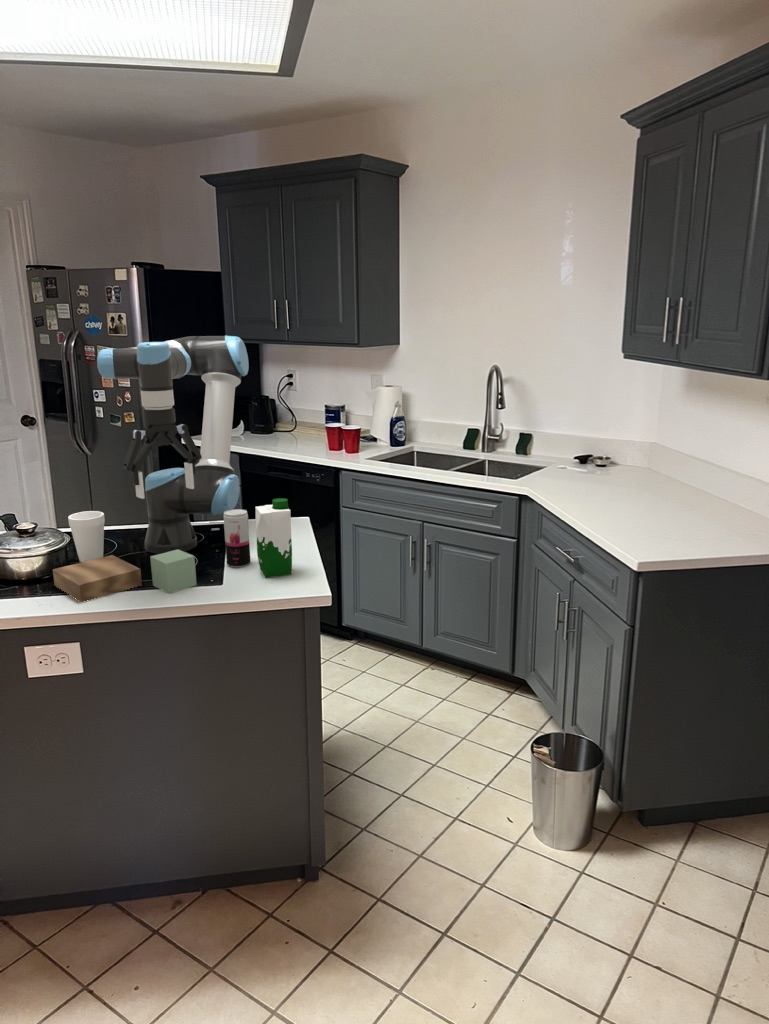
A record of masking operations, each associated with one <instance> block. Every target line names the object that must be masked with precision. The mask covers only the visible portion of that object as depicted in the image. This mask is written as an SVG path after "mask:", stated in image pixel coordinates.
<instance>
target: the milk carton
mask: <svg viewBox="0 0 769 1024" xmlns="http://www.w3.org/2000/svg"><path fill="white" fill-rule="evenodd" d="M271 502H272V504H264V505H259V506H255V507H254V508H255V536H256V551H257V552H256V554H257V560H258V565H259V570H260V572H261V573H262V575H263V576H264V578H265V579H268V578H276V577H277V578H278V577H283V576H285V577H286V576H291V575H293V546H292V545H293V543H292V521H291V519H292V517H291V513H292V512H291V509H290V507H289V500H288V498H284V497H277V498H273V499H272V501H271Z"/></svg>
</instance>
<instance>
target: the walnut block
mask: <svg viewBox="0 0 769 1024" xmlns="http://www.w3.org/2000/svg"><path fill="white" fill-rule="evenodd" d="M141 571H142V570H141V568H139V567H137V566H136V565H133V564H131V563H129V562H128V561H125V560H124V559H121V558H119V557H117V556H115V555H113V554H110V555H106V556H103V557H102V558H98V559H94V560H89V561H85V562H78V563H74V564H70V565H65V566H61V567H57V568H53V569H52V575H53V583H54V587H55V586H56V587H55V588H57V589H58V588H59V589H58V590H60V589H61V590H60V591H62V592H63V591H64V593H65V592H66V593H67V594H66V593H65V594H66V595H68V594H69V595H68V596H70V595H71V596H72V598H73V597H74V599H75V598H76V599H77V600H76V599H75V600H76V601H78V600H79V601H80V603H81V602H82V603H85V602H88V601H87V600H89V601H91V599H93V600H95V599H94V598H96V599H99V598H98V597H100V598H102V596H103V597H107V596H109V595H113V594H117V592H118V593H121V592H125V591H127V589H128V590H131V589H130V588H132V589H135V588H138V586H139V587H142V586H143V584H142V583H143V582H142V572H141ZM134 587H135V588H134ZM124 590H125V591H124ZM71 596H70V597H71ZM79 601H78V602H79ZM84 601H85V602H84Z"/></svg>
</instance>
